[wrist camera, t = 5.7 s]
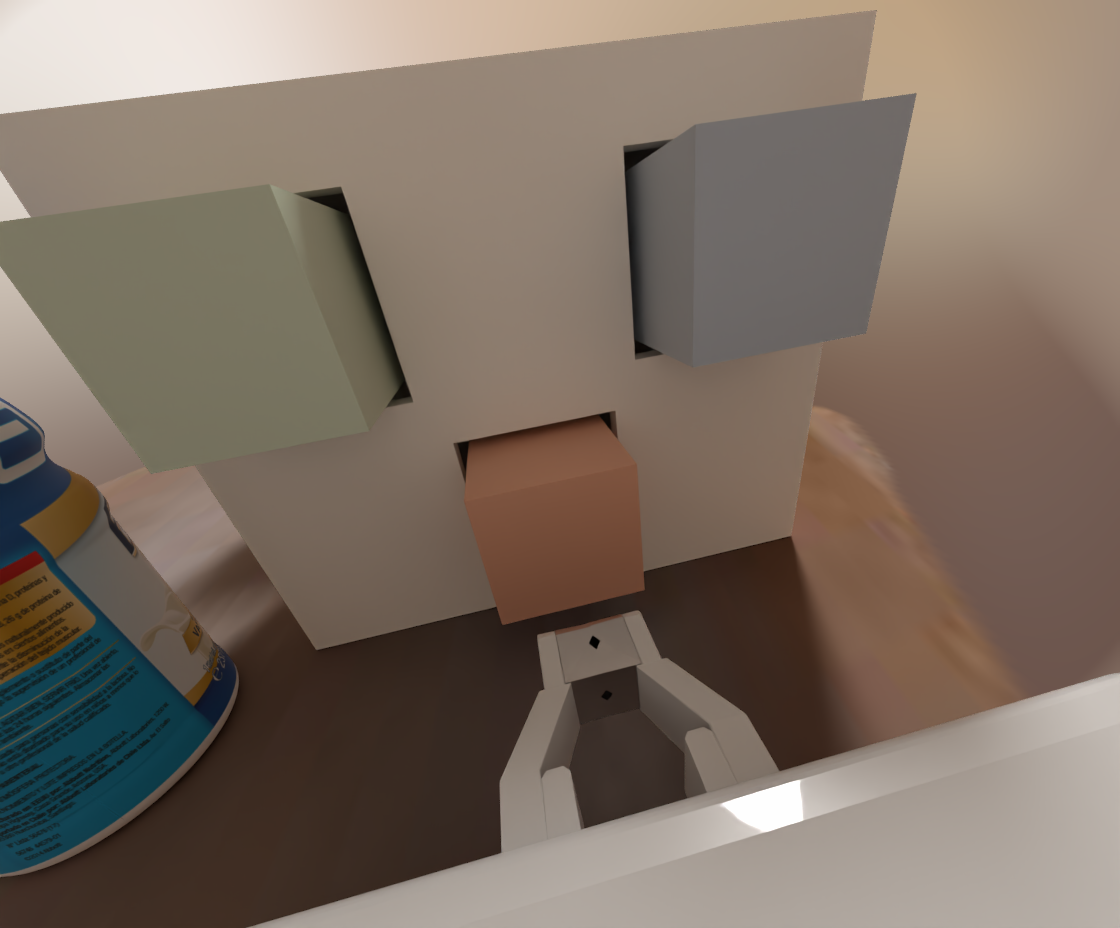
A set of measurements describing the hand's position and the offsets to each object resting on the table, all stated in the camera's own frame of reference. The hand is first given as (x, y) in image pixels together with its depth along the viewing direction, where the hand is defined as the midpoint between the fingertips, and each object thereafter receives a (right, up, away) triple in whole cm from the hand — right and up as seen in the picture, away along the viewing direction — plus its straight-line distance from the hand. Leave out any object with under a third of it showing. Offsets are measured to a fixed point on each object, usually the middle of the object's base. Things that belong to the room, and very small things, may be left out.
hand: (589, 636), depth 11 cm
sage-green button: (-10, +7, +3) cm, 12 cm away
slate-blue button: (+6, +10, +4) cm, 12 cm away
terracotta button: (-1, 0, +7) cm, 8 cm away
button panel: (-1, 0, +14) cm, 14 cm away
